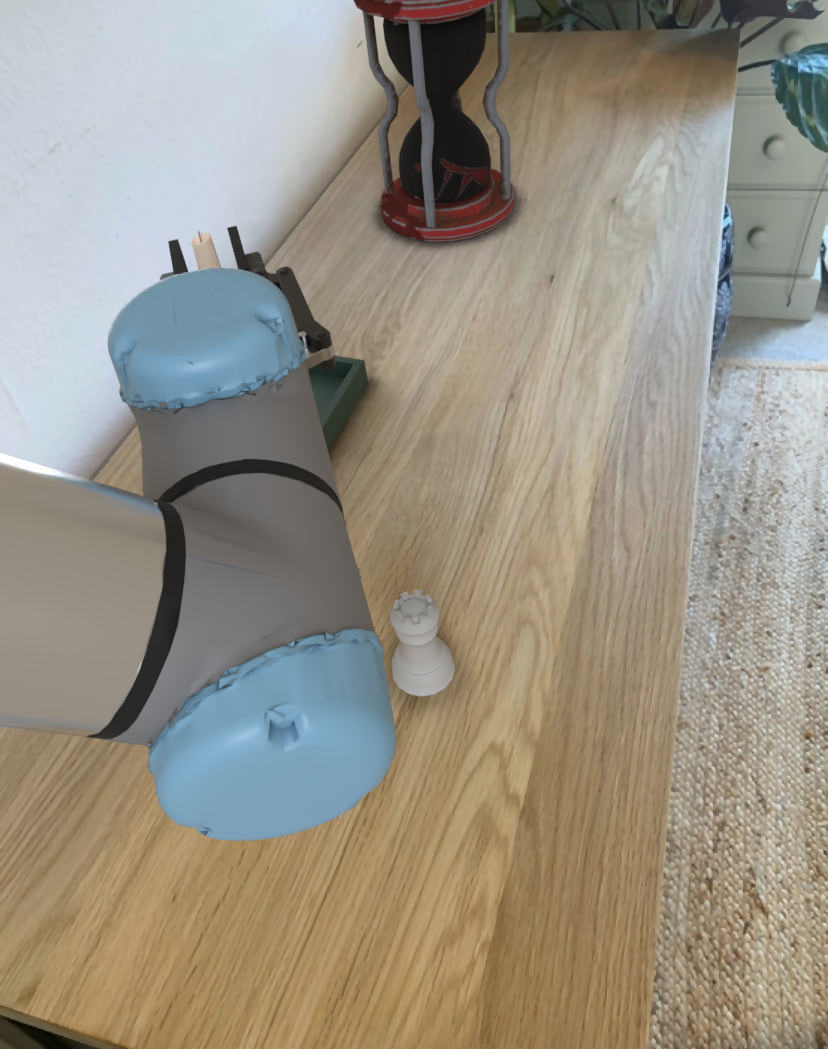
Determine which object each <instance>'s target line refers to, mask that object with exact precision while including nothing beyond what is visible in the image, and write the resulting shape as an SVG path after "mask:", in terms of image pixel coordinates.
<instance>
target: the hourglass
mask: <svg viewBox="0 0 828 1049" xmlns="http://www.w3.org/2000/svg"><path fill="white" fill-rule="evenodd" d="M353 2H354V5H355V7H356V8H357V9H359V10H360V11H361V12H362V17H363V26H364V33H365V34H364V35H365V41H366V42H365V43H366V50H367V56H368V66H369V68H370V70H371V73H372V75H373V77H374V79H375V80H376V81H377V83H378V84H379V85H380V86H381V87H382V88H383V91H384V95H385V98H386V112H385V115H384V117H383V118H382V119H381V121H380V122H379V127H378V131H377V137H378V144H379V145H378V146H379V152H380V153H379V154H380V161H381V169H382V177H383V185H384V190H383V191H382V194H381V197H380V199H379V207H380V214H381V218H382V220H383V222H384V224H385V225H386V226H387V227H388V228H389V229H390V230H392V231H393V232H394V233H396V234H398V235H401V236H402V237H406V238H408V239H411V240H417V241H423V242H429V243H440V242H456V241H461V240H467V239H471V238H476V237H478V236H480V235H483V234H485V233H488V232H490V231H494V229H496V228H497V227H498V226H500V225H501V224H503V223H504V222H505V221H507V219H509V216H510V215H511V214H512V212H513V211H514V208H515V186H514V184H513V183H512V182H511V136H510V134H509V131H508V130H509V129H508V127H507V125H506V124H505V123H504V121H503V120H502V119H501V117H500V116H499V113H498V108H497V104H496V100H497V95H498V88H500V86H501V85H502V83H503V82H504V80H506V78H507V74H508V71H509V68H510V19H509V16H510V15H509V13H510V12H509V8H510V7H509V6H510V5H509V0H353ZM494 3H496V4H497V5H496V8H497V9H496V12H497V13H496V15H497V16H496V17H497V18H496V20H497V63H498V64H497V67H496V69H495V72H494V75H493V77H492V78H491V80H490V81H489V82H488V83H487V84H486V86H485V88H484V92H483V98H482V106H483V109H484V112H485V116H486V119H487V121H488V122H489V123H490V124H491V125H492V126H493V127H494V128H495V130H496V133H497V136H498V137H499V161H500V165H499V167H500V171H498V170H497V169H494V168H492V158H491V157H492V156H491V151H490V146H489V143H488V141H487V139H486V137H485V135H484V134H483V132H482V131H481V129H480V127H479V126H478V125H477V124H476V123H475V122H474V121H473V120H472V119H471V118H470V117H469V116H468V115H467V114H466V113H465V112H463V102H462V97H461V95H460V88H461V87H463V85H464V84H465V83H466V81H467V80H468V79H469V77H471V75H472V74H473V72H474V70H475V69H476V68H477V67H478V65H479V63H480V61H481V58H482V57H483V54H484V51H485V48H486V42H487V32H488V21H487V20H488V19H487V18H488V17H487V16H488V14H487V13H488V12H487V9H486V8H487V7H489V6H491V5H493V4H494ZM375 17H378V18H382V19H383V22H382V28H383V29H382V30H383V38H384V43H385V48H386V51H387V55H388V57H389V59H390V61H391V63H392V65H393V66H394V68H395V69H396V71H397V73H398V74H399V75H400V76H401V77H402V78H403V80H405V81H406V82H407V84H409V85H410V86H411V87H412V88H413V91H414V97H415V102H416V106H417V108H418V110H419V115H420V116H419V117H418V118H417V119H416V120H415V121H414V123H413V124H412V125H411V127H410V128H409V130H408V132H406V134H405V136H404V137H403V138H404V139H403V141H402V145H401V146H400V151H399V154H398V173H399V174H398V175H399V177H397V179H394V178H393V170H392V161H391V153H390V152H391V150H390V144H389V131H390V128H391V124H392V123H393V122H394V121H395V119H396V118H397V117H398V113H399V112H398V111H399V106H400V105H399V103H400V99H399V95H398V93H397V90H396V88H395V84H394V82H393V81H392V80H391V79H390V78H389V77H388V76H387V74H385V72H384V69H383V67H382V66H381V63H380V59H379V50H378V41H377V33H376V26H375Z"/></svg>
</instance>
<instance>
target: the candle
mask: <svg viewBox="0 0 828 1049" xmlns="http://www.w3.org/2000/svg"><path fill="white" fill-rule="evenodd" d="M197 233H198V234H197V235H195V236H194V237H193V238H192V240H191V246H192V250H193V254H194V258H195V261H196V265H197V270H200V269H205V268H222V265H221V262H220V259H219V255H218V252H217V250H216V247H215V245H214V241H213V239H212V235H211V233H210V232H200V230H198V231H197Z"/></svg>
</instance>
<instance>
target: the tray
mask: <svg viewBox="0 0 828 1049" xmlns="http://www.w3.org/2000/svg"><path fill="white" fill-rule="evenodd" d="M335 360H336V365H335V367H333V368H331V369H328V370H323V369H321V368H319V367H318V366H317V365H316V366H314V367H312V368H310V369H308V372H309V377H310V381H311V386H312V390H313V395H314V399H315V403H316V407H317V411H318V415H319V419H320V423H321V426H322V430H323V434H324V438H325V442H326V445H327V449H328V451H329V450H330V449H331V447H332V445H333V443H334V442H335V440H336V438H337V437H338V435H339V433H340V432H341V430H342V428H343V427H344V425H345V423H346V421H347V420H348V418H349V417H350V415H351V413H352V411H353V410H354V408H355V406H356V405H357V403H358V401H359V399H360V398H361V396H362V394H363V393H364V391H365V389H366V388H367V386H368V384H369V380H368V374H367V373H368V372H367V368H366V361H365V359H360V358H354V357H346V356H341V355H335Z"/></svg>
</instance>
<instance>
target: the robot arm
mask: <svg viewBox="0 0 828 1049" xmlns="http://www.w3.org/2000/svg"><path fill="white" fill-rule="evenodd" d="M226 229H227V233H228V236H229V240H230V244H231V248H232V252H233V255H234V260H235V263H236V267H237V268H233V267H232V268H231V267H221V268H205V269H200V270H199V269H197V270H192V271H189V268H188V266H187V263H186V259H185V256H184V254H183V250H182V247H181V245H180V242H179V238H176V239H172V240H168V241H167V242H168V243H167V244H168V249H169V254H170V255H169V256H170V261H171V266H172V271H170V272H166V273H165V272H164V273H162V274H161V275H160V277H159V280H158V281H156V282H154V283H152V284H150V285H149V286H147V287H145V288H143V289H142V290H141V291H138V292H137V293H136V294H135V295H133V296H132V297H130V299H129V300H128V301H127V302H125V303H124V304H123V305H122V306H121V308H120V309H118V310H119V311H118V312H117V313H116V315H115V316H114V318H113V320H112V321H111V324H110V326H109V330H108V333H107V351H108V352H107V353H108V354H109V358H110V360H111V364H112V367H113V369H114V371H115V374H116V377H117V380H118V384H119V389H118V394H119V397H120V398H121V401H122V402H123V403H125V404H126V405H127V406H128V408H129V409H130V412H131V413H132V415H133V417H134V420H135V423H136V426H137V429H138V433H139V438H140V447H141V470H142V471H141V473H142V474H141V475H142V494H139V493H136V492H132V491H128V490H126V489H122V488H118V487H116V486H111V485H109V484H106V483H103V482H98V481H96V480H92V479H88V478H85V477H82V476H78V475H75V474H72V473H68V472H65V471H62V470H59V469H55V468H52V467H48V466H45V465H42V464H38V463H35V462H31V461H28V460H24V459H21V458H18V457H16V456H11V455H8V454H4V453H1V452H0V728H6V729H14V730H15V729H16V730H22V731H24V730H25V731H30V732H40V733H47V734H54V735H55V734H57V735H64V736H73V737H80V738H90V739H100V740H103V741H108V742H115V743H120V744H127V745H137V746H144V747H147V748H148V760H147V770H148V772H149V773H150V774H151V775H153V780H154V789H155V795H156V799H157V802H158V804H159V806H160V807H161V808H160V809H162V811H163V812H164V814H165V815H166V816H167V818H168V819H170V820H172V821H173V822H174V824H176V825H178V826H181V827H185V828H190V829H195V830H196V831H197V833H199V834H200V835H202V836H205V837H208V838H209V839H213V840H217V841H218V840H219V841H228V842H229V841H232V842H233V841H234V842H249V841H258V840H259V841H260V840H269V839H276V838H282V837H286V836H289V835H294V834H298V833H301V832H304V831H308V830H310V829H313V828H317V827H319V826H321V825H324V824H327V823H328V822H331V821H332V820H334V819H337V818H339V817H340V816H342V815H344V814H346V813H348V812H349V811H351V810H352V809H354V808H355V807H357V806H358V805H359V804H360V802H361V801H362V799H363V798H364V797H365V796H366V795H367V794H370V792H372V791H374V790H375V789H376V788H378V787H379V785H380V784H381V783H382V782H383V780H384V779H385V778H386V775H387V774H388V772H389V770H390V768H391V766H392V764H393V760H394V757H395V754H396V747H397V746H396V744H397V730H396V725H395V718H394V712H393V707H392V701H391V696H390V691H389V690H390V689H389V683H388V678H387V672H386V666H385V651H384V650H385V649H384V647H383V643H382V641H381V638H380V636H379V635H378V634H377V633H376V630H375V627H374V623H373V619H372V616H371V611H370V608H369V604H368V601H367V598H366V593H365V590H364V586H363V583H362V579H363V578H362V576H361V569H360V567H359V565H358V563H357V561H356V557H355V554H354V549H353V546H352V543H351V539H350V535H349V532H348V529H347V522H346V519H345V514H344V509H343V505H342V502H341V496H340V493H339V488H338V485H337V482H336V478H335V473H334V469H333V466H332V460H331V457H330V454H329V450H328V449H327V445H326V442H325V438H324V434H323V430H322V426H321V423H320V419H319V415H318V411H317V407H316V403H315V399H314V395H313V390H312V386H311V381H310V377H309V372H308V369H310V368H312V367H314V366H316V365H317V366H318V367H319V368H321V369H323V370H328V369H331V368H333V367H335V365H336V360H335V356H336V355H335V351H334V346H333V339H332V336H331V335H332V334H331V332H330V330H328V329H327V328H326V327H324V326H323V325H322V324H320V323H319V322H317V321H316V320H315V317H314V316H313V314H312V311H311V309H310V307H309V304H308V302H307V300H306V297H305V295H304V293H303V291H302V288H301V286H300V284H299V282H298V280H297V278H296V275H295V273H294V271H293V269H292V267H289V266H282V267H279V268H278V269H276V271H275V272H274V273H271V272H269V271H267V269H266V266H265V263H264V260H263V257H262V254H261V253H260V252H259V251H254V252H249V253H245V251H244V247H243V243H242V240H241V237H240V233H239V230H238V226H237V225H233V226H229V227H228V226H227V228H226Z"/></svg>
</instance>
